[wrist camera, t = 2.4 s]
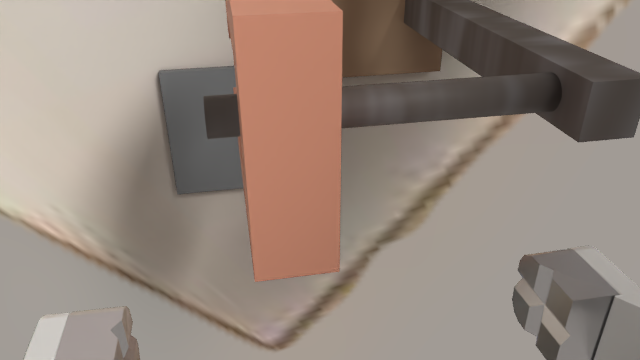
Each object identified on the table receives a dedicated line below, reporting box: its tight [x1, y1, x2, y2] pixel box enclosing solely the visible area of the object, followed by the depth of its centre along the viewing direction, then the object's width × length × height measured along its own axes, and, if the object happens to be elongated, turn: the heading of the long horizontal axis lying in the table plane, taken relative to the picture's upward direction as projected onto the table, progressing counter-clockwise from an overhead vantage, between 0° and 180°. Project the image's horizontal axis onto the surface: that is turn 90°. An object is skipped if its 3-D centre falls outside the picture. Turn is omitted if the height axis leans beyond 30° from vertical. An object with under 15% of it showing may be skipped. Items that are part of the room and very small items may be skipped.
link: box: [225, 0, 343, 282], centre depth 22 cm, size 3×9×12 cm, turn 1°
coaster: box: [159, 66, 244, 194], centre depth 41 cm, size 10×10×1 cm
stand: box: [203, 0, 640, 142], centre depth 29 cm, size 17×10×22 cm, turn 91°
